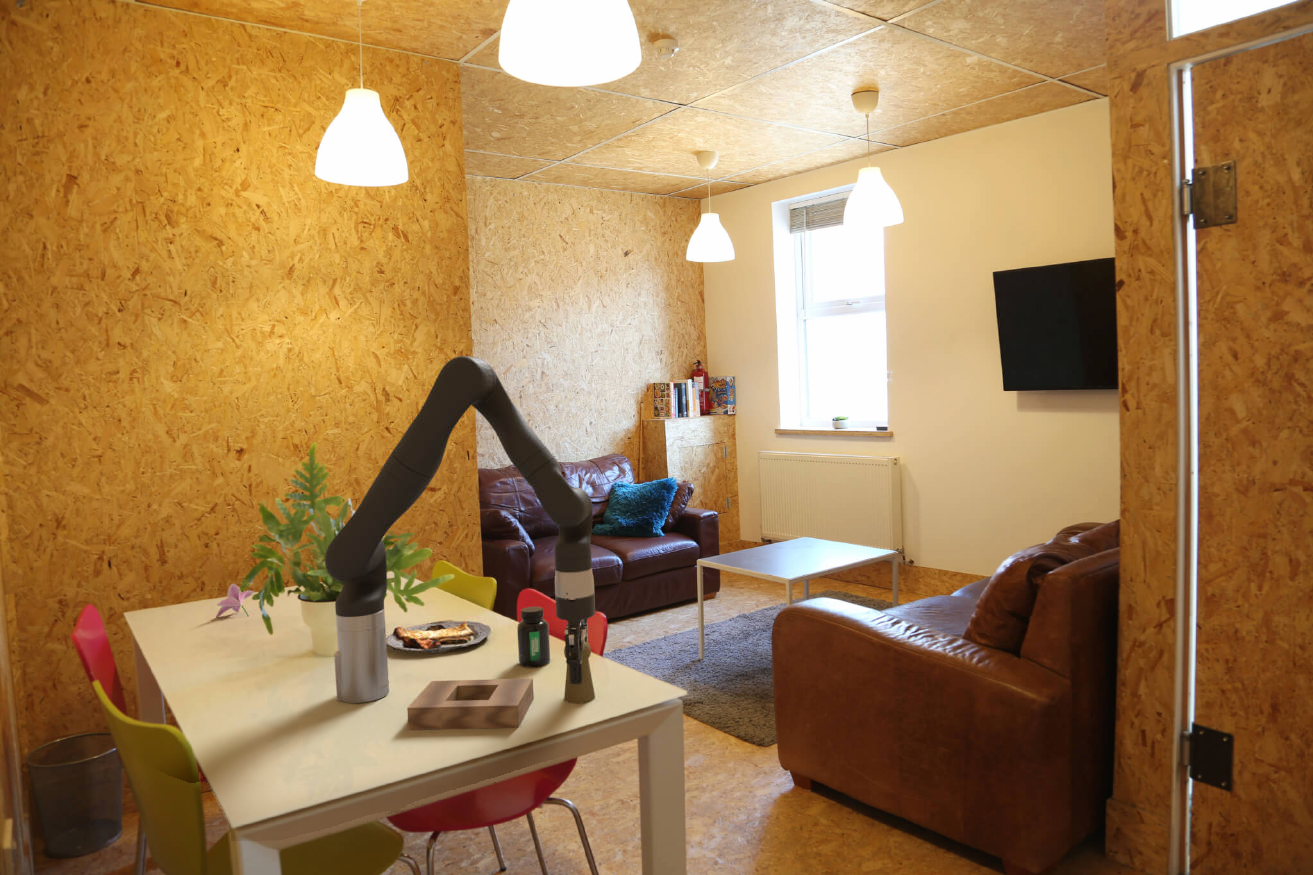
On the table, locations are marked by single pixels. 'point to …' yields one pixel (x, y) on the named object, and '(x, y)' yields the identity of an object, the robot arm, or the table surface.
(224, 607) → the lily
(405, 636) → the food plate
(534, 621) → the supplement bottle
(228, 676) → the table surface
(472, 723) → the holder block
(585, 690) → the cork
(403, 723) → the table surface
